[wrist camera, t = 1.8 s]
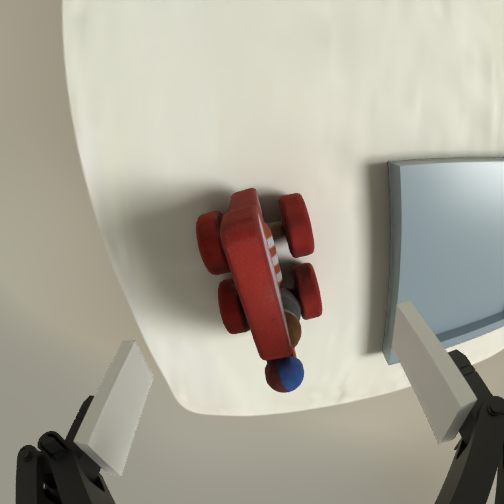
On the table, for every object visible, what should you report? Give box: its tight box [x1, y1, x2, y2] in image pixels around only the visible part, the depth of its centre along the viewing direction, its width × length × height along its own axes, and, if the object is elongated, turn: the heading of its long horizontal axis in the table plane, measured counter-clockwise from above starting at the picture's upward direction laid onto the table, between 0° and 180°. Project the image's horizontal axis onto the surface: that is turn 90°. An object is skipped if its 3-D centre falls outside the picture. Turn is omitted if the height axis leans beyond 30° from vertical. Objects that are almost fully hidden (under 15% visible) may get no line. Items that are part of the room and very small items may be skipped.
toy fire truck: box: [196, 188, 322, 393], centre depth 18 cm, size 7×12×10 cm, turn 13°
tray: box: [382, 157, 504, 365], centre depth 21 cm, size 18×18×2 cm
